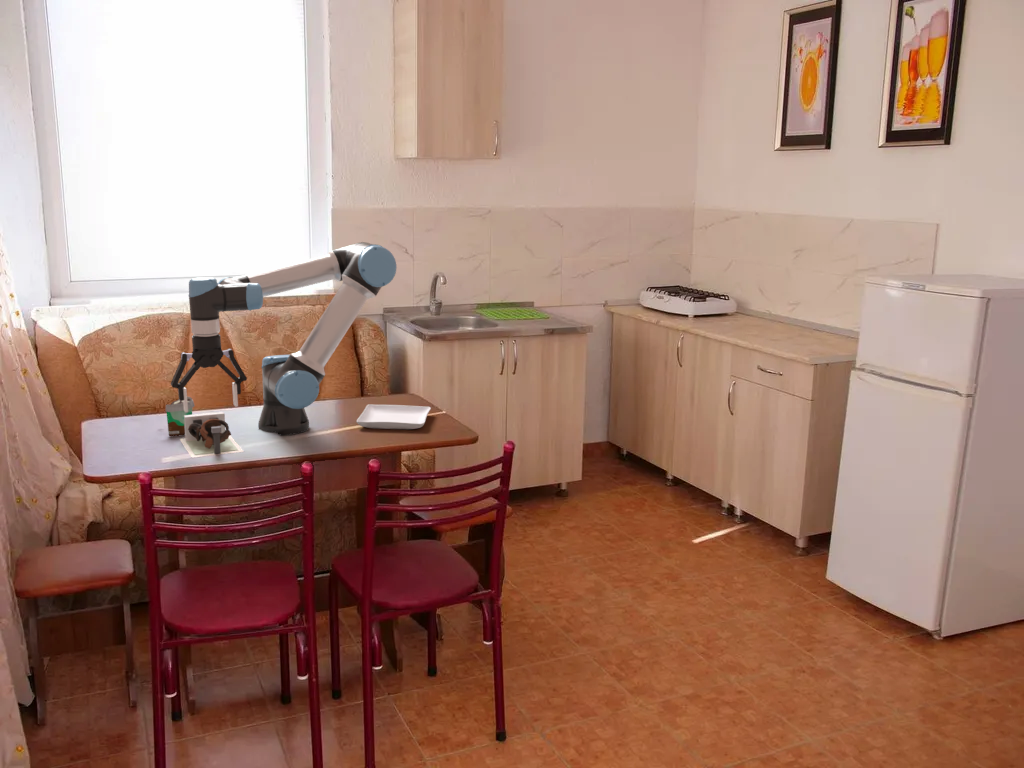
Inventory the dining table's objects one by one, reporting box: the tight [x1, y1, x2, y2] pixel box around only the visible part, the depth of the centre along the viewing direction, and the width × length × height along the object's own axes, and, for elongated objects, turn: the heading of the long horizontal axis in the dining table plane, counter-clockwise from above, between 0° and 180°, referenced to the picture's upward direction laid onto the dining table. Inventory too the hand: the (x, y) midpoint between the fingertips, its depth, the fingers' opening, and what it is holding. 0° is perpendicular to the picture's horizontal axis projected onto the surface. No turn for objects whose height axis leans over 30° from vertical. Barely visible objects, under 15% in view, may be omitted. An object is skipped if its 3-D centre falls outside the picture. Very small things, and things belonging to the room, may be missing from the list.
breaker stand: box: [179, 411, 245, 458], centre depth 265 cm, size 14×20×8 cm
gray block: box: [211, 426, 221, 455], centre depth 257 cm, size 2×2×8 cm
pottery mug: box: [188, 419, 232, 449], centre depth 264 cm, size 12×10×8 cm
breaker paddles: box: [193, 418, 218, 431], centre depth 270 cm, size 7×1×3 cm, turn 118°
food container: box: [165, 395, 195, 437], centre depth 280 cm, size 12×6×10 cm, turn 0°
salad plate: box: [356, 404, 432, 430], centre depth 297 cm, size 21×21×3 cm
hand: (211, 408), depth 262 cm, fingers open, 13 cm apart
